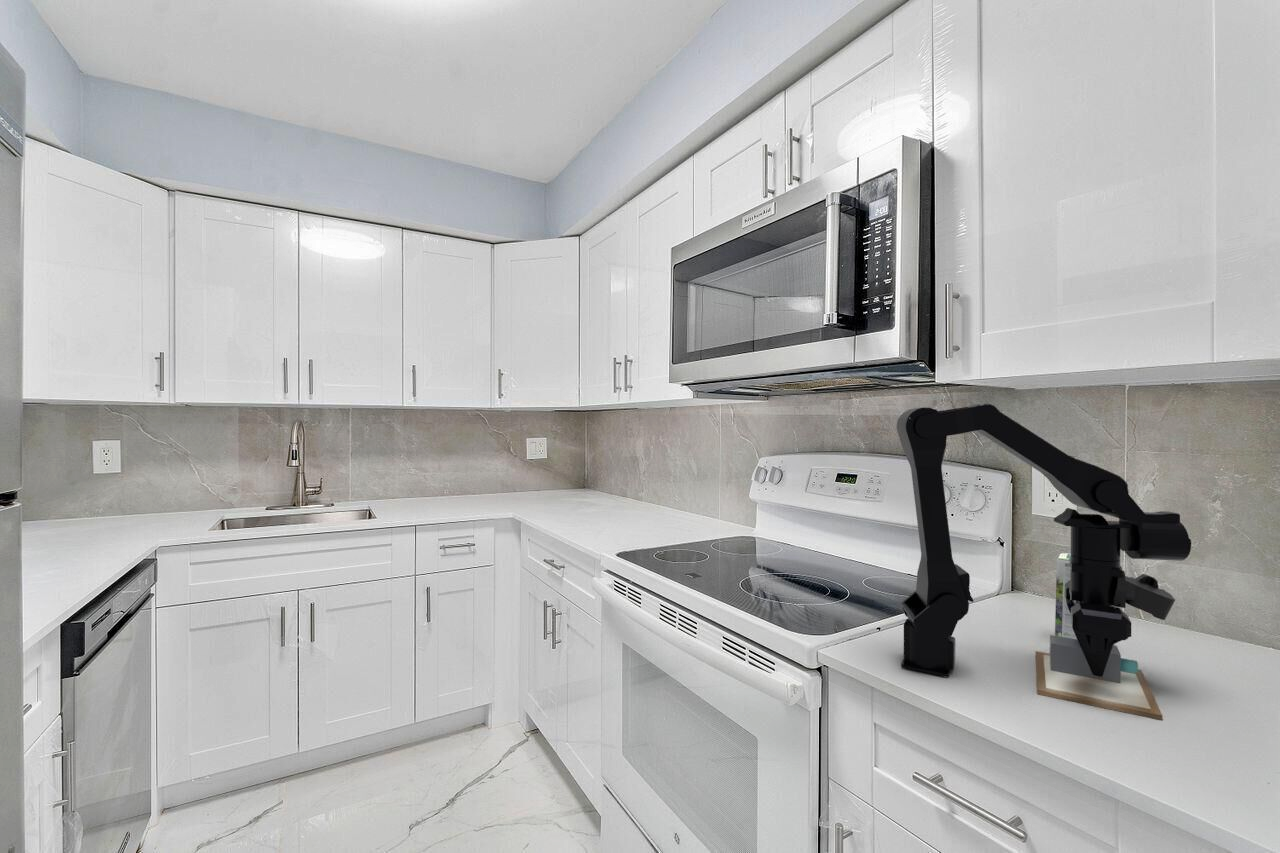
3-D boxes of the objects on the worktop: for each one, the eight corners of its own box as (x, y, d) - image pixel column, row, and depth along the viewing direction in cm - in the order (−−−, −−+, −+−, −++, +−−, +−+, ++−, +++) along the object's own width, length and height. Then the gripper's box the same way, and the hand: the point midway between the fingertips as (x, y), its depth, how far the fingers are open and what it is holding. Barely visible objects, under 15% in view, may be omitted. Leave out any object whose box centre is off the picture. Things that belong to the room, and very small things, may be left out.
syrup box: (1057, 634, 103) (1057, 551, 103) (1100, 641, 100) (1100, 556, 99) (1054, 643, 99) (1054, 557, 99) (1099, 652, 95) (1099, 563, 95)
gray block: (1050, 670, 87) (1050, 643, 86) (1049, 661, 90) (1049, 635, 90) (1139, 687, 81) (1139, 658, 81) (1134, 676, 84) (1134, 648, 84)
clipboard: (1037, 694, 81) (1037, 682, 81) (1035, 654, 94) (1035, 644, 94) (1162, 720, 74) (1162, 707, 74) (1141, 673, 87) (1141, 663, 87)
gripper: (1184, 580, 73) (1183, 705, 73) (1155, 551, 89) (1155, 654, 89) (1073, 567, 79) (1072, 683, 79) (1064, 543, 95) (1064, 639, 95)
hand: (1094, 664), depth 85 cm, fingers open, 9 cm apart
